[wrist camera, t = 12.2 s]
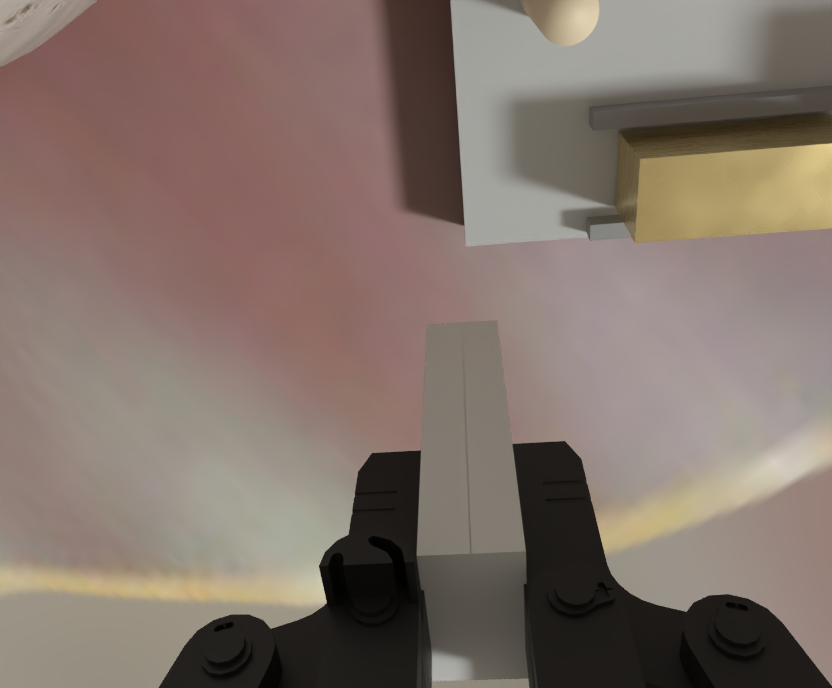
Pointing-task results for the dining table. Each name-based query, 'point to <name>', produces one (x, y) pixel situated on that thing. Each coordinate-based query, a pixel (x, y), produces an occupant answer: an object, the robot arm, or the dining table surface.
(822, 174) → the tan rectangular block
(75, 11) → the white ceramic vase
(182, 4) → the dining table surface
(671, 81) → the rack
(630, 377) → the dining table surface
